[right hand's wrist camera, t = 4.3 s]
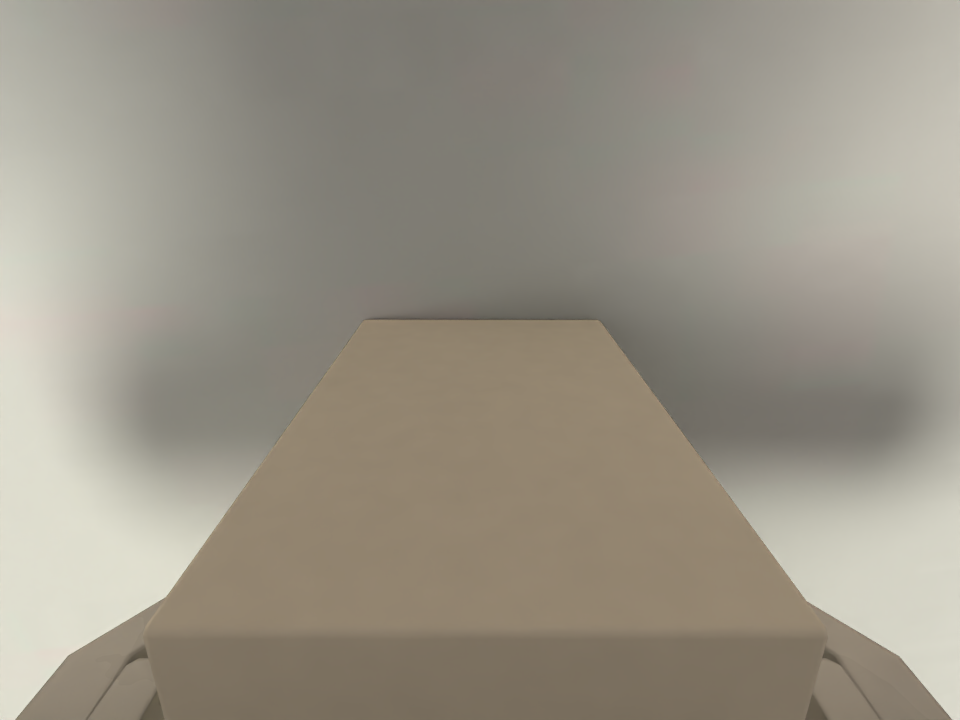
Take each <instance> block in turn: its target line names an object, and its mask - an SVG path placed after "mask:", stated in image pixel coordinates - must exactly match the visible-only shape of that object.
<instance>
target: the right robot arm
mask: <svg viewBox="0 0 960 720" xmlns="http://www.w3.org/2000/svg"><path fill="white" fill-rule="evenodd" d="M165 598H166V597H165ZM165 598H164V599H165ZM164 599H162V600H160V601H159V602H157V603H155V604H154V605H152V606H150V607H149V608H147V609H145V610H144V611H142V612H140V613H139V614H137V615H135V616H134V617H132V618H130V619H129V620H127V621H125V622H124V623H122V624H120V625H119V626H117V627H115V628H114V629H112V630H110V631H109V632H107V633H105V634H104V635H102V636H100V637H99V638H97V639H95V640H94V641H92V642H90V643H89V644H87V645H85V646H84V647H82V648H80V649H79V650H77V651H75V652H74V653H72V654H70V655H69V656H68V657H67V658H66V659H65V660H64V662H63V663H62V664H61V665H60V666H59V668H58V669H57V670H56V671H55V672H54V674H53V675H52V676H51V677H50V678H49V680H48V681H47V682H46V683H45V684H44V686H43V687H42V688H41V689H40V691H39V692H38V693H37V694H36V695H35V697H34V698H33V699H32V700H31V701H30V703H29V704H28V705H27V706H26V707H25V709H24V710H23V711H22V712H21V713H20V715H19V716H18V717H17V718H16V719H15V720H165V719H164V715H163V711H162V707H161V704H160V700H159V696H158V692H157V689H156V685H155V681H154V677H153V674H152V670H151V666H150V662H149V659H148V655H147V651H146V647H145V644H144V640H143V633H144V629H145V626H146V625H147V623H148V622H149V621H150V619H151V618H152V616H153V615H154V614H155V612H156V611H157V609H158V608H159V607H160V605H161V604H162V602H163V601H164ZM807 603H808V604H809V605H810V607H811V608H812V609H813V611H814V612H815V613H816V615H817V616H818V618H819V619H820V620H821V622H822V623H823V624H824V626H825V627H826V631H827V635H828V639H827V643H826V646H825V650H824V653H823V657H822V661H821V664H820V668H819V671H818V675H817V679H816V682H815V686H814V689H813V693H812V697H811V700H810V704H809V707H808V711H807V715H806V718H805V720H952V719H951V718H950V717H949V715H948V714H947V713H946V712H945V711H944V709H943V708H942V707H941V706H940V705H939V703H938V702H937V701H936V700H935V699H934V697H933V696H932V695H931V694H930V693H929V691H928V690H927V689H926V688H925V687H924V685H923V684H922V683H921V682H920V681H919V679H918V678H917V677H916V676H915V675H914V673H913V672H912V671H911V670H910V669H909V667H908V666H907V665H906V664H905V663H904V662H903V660H902V659H901V658H900V657H899V656H898V655H896V654H894V653H893V652H891V651H889V650H887V649H886V648H884V647H882V646H881V645H879V644H877V643H876V642H874V641H872V640H871V639H869V638H867V637H866V636H864V635H862V634H861V633H859V632H857V631H856V630H854V629H852V628H851V627H849V626H847V625H846V624H844V623H842V622H840V621H839V620H837V619H835V618H834V617H832V616H830V615H829V614H827V613H825V612H824V611H822V610H820V609H819V608H817V607H815V606H814V605H812V604H810V603H809V602H807Z"/></svg>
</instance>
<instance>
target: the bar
mask: <svg viewBox="0 0 960 720" xmlns="http://www.w3.org/2000/svg"><path fill="white" fill-rule="evenodd" d="M827 639H828V635H827V631H826V627H825V626H824V624H823V623H822V622H821V620H820V619H819V618H818V616H817V615H816V613H815V612H814V611H813V609H812V608H811V607H810V605H809V604H808V603H807V601H806V600H805V599H804V597H803V596H802V594H801V593H800V592H799V590H798V589H797V588H796V586H795V585H794V584H793V582H792V581H791V579H790V578H789V577H788V575H787V574H786V573H785V571H784V570H783V569H782V567H781V566H780V565H779V563H778V562H777V560H776V559H775V558H774V556H773V555H772V554H771V552H770V551H769V550H768V548H767V547H766V546H765V544H764V543H763V541H762V540H761V539H760V537H759V536H758V535H757V533H756V532H755V531H754V529H753V528H752V526H751V525H750V524H749V522H748V521H747V520H746V518H745V517H744V516H743V514H742V513H741V512H740V510H739V509H738V507H737V506H736V505H735V503H734V502H733V501H732V499H731V498H730V497H729V495H728V494H727V493H726V491H725V490H724V488H723V487H722V486H721V484H720V483H719V482H718V480H717V479H716V478H715V476H714V475H713V474H712V472H711V471H710V469H709V468H708V467H707V465H706V464H705V463H704V461H703V460H702V459H701V457H700V456H699V454H698V453H697V452H696V450H695V449H694V448H693V446H692V445H691V444H690V442H689V441H688V440H687V438H686V437H685V435H684V434H683V433H682V431H681V430H680V429H679V427H678V426H677V425H676V423H675V422H674V421H673V419H672V418H671V416H670V415H669V414H668V412H667V411H666V410H665V408H664V407H663V406H662V404H661V403H660V401H659V400H658V399H657V397H656V396H655V395H654V393H653V392H652V391H651V389H650V388H649V387H648V385H647V384H646V382H645V381H644V380H643V378H642V377H641V376H640V374H639V373H638V372H637V370H636V369H635V368H634V366H633V365H632V363H631V362H630V361H629V359H628V358H627V357H626V355H625V354H624V353H623V351H622V350H621V349H620V347H619V346H618V344H617V343H616V342H615V340H614V339H613V338H612V336H611V335H610V334H609V332H608V331H607V329H606V328H605V327H604V325H603V324H602V323H601V321H599V320H363V322H362V323H361V325H360V326H359V327H358V329H357V330H356V332H355V333H354V334H353V336H352V337H351V339H350V340H349V341H348V343H347V344H346V346H345V347H344V348H343V350H342V351H341V353H340V354H339V355H338V357H337V358H336V360H335V361H334V362H333V364H332V365H331V367H330V368H329V369H328V371H327V372H326V374H325V375H324V376H323V378H322V379H321V381H320V382H319V383H318V385H317V386H316V388H315V389H314V390H313V392H312V393H311V395H310V396H309V397H308V399H307V400H306V402H305V403H304V404H303V406H302V407H301V409H300V410H299V412H298V413H297V414H296V416H295V417H294V419H293V420H292V421H291V423H290V424H289V426H288V427H287V428H286V430H285V431H284V433H283V434H282V435H281V437H280V438H279V440H278V441H277V442H276V444H275V445H274V447H273V448H272V449H271V451H270V452H269V454H268V455H267V456H266V458H265V459H264V461H263V462H262V463H261V465H260V466H259V468H258V469H257V470H256V472H255V473H254V475H253V476H252V477H251V479H250V480H249V482H248V483H247V484H246V486H245V487H244V489H243V490H242V491H241V493H240V494H239V496H238V497H237V498H236V500H235V501H234V503H233V504H232V506H231V507H230V508H229V510H228V511H227V513H226V514H225V515H224V517H223V518H222V520H221V521H220V522H219V524H218V525H217V527H216V528H215V529H214V531H213V532H212V534H211V535H210V536H209V538H208V539H207V541H206V542H205V543H204V545H203V546H202V548H201V549H200V550H199V552H198V553H197V555H196V556H195V557H194V559H193V560H192V562H191V563H190V564H189V566H188V567H187V569H186V570H185V571H184V573H183V574H182V576H181V577H180V578H179V580H178V581H177V583H176V584H175V585H174V587H173V588H172V590H171V591H170V592H169V594H168V595H167V597H166V598H165V599H164V601H163V602H162V604H161V605H160V607H159V608H158V609H157V611H156V612H155V614H154V615H153V616H152V618H151V619H150V621H149V622H148V623H147V625H146V626H145V629H144V633H143V640H144V644H145V647H146V651H147V655H148V659H149V662H150V666H151V670H152V674H153V677H154V681H155V685H156V689H157V692H158V696H159V700H160V704H161V707H162V711H163V715H164V719H165V720H805V718H806V715H807V711H808V707H809V704H810V700H811V697H812V693H813V689H814V686H815V682H816V679H817V675H818V671H819V668H820V664H821V661H822V657H823V653H824V650H825V646H826V643H827Z"/></svg>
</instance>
